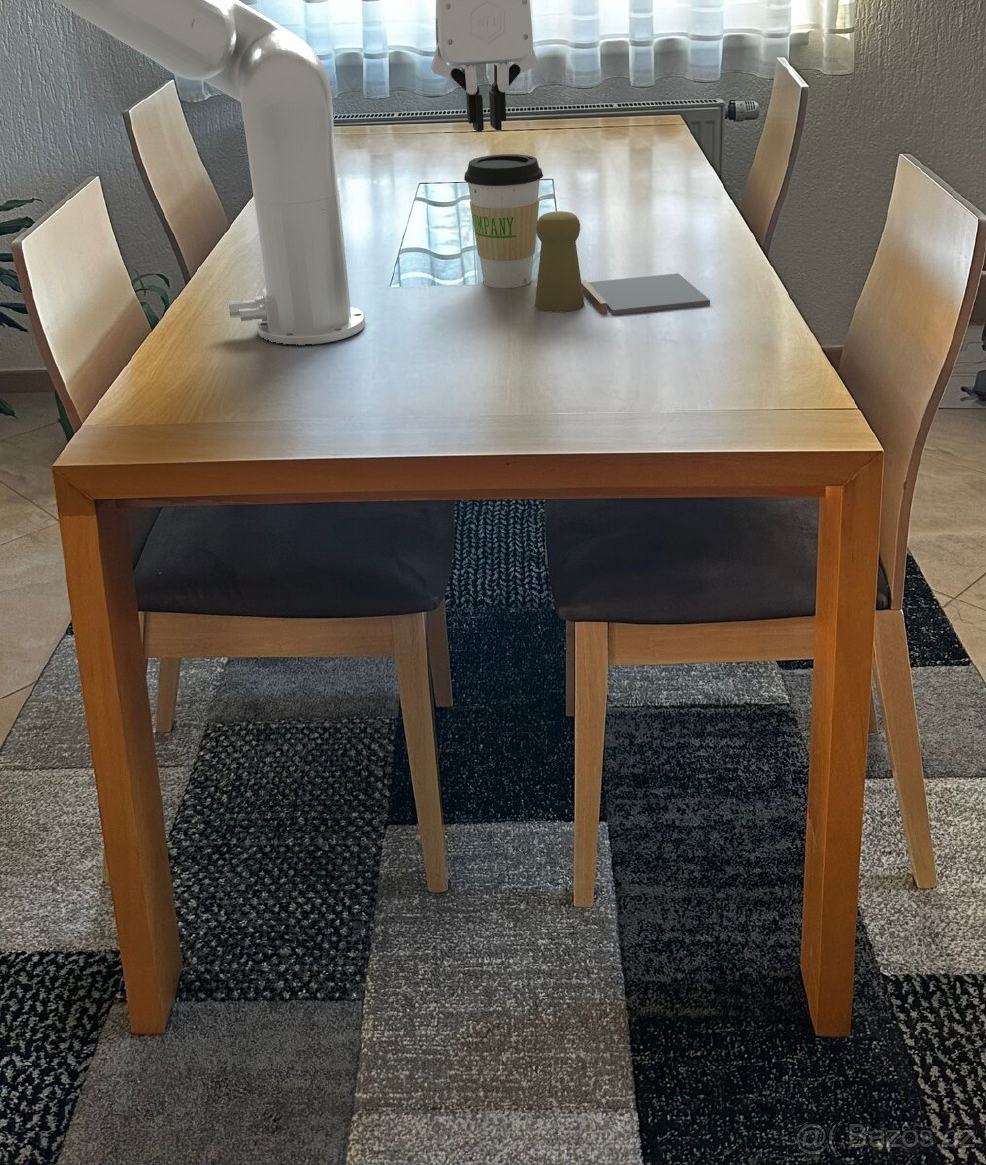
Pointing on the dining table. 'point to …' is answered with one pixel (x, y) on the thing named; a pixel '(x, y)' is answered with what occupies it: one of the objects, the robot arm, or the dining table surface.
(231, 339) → the dining table surface
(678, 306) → the charcoal mat
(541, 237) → the cork
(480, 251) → the coffee cup
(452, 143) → the dining table surface
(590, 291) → the walnut strip
